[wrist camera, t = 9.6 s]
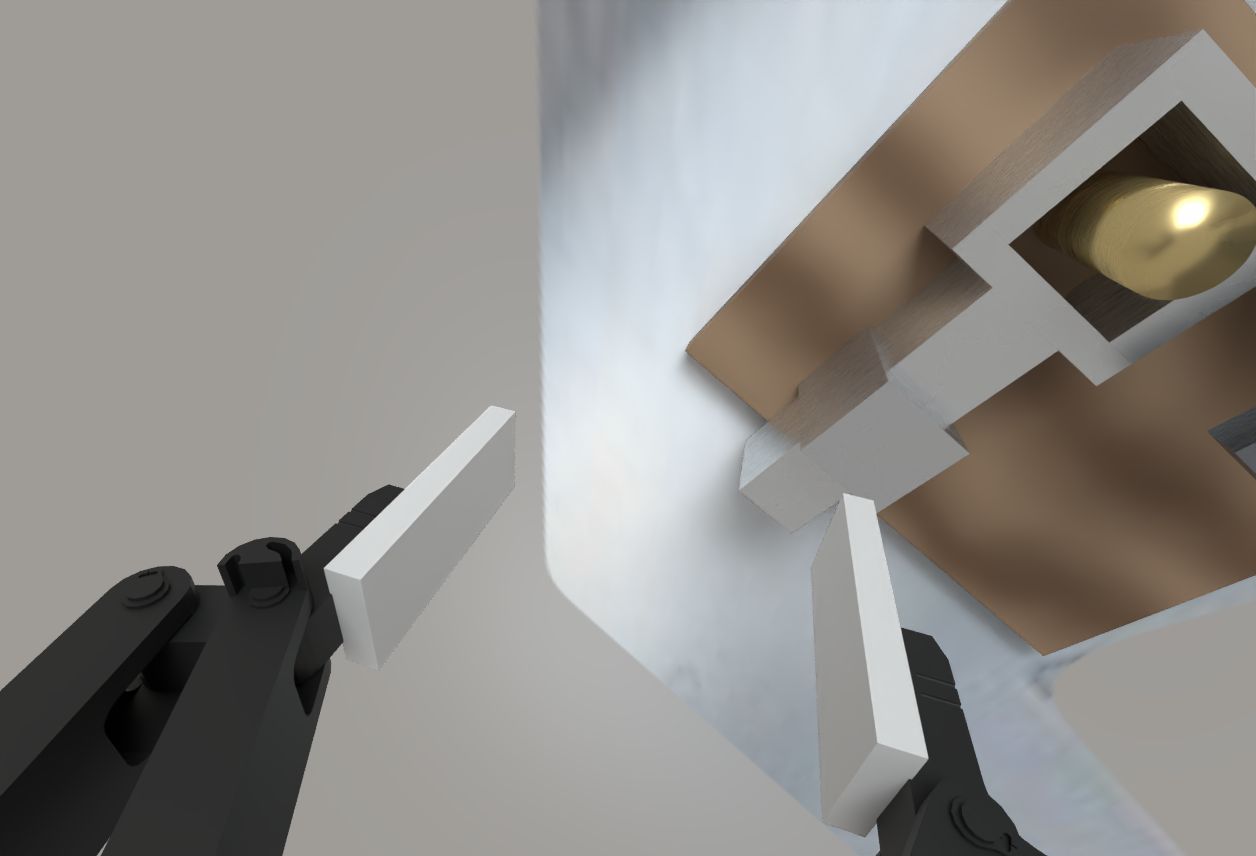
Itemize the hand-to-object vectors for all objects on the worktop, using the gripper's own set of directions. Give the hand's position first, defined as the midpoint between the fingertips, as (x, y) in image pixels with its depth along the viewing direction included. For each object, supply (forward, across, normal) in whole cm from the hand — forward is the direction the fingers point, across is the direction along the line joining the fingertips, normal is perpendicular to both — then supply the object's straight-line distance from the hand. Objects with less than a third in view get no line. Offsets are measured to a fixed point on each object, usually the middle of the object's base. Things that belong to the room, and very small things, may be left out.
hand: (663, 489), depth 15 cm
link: (+12, +9, +2) cm, 15 cm away
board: (+13, +15, +1) cm, 20 cm away
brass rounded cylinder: (+13, +12, +8) cm, 19 cm away
